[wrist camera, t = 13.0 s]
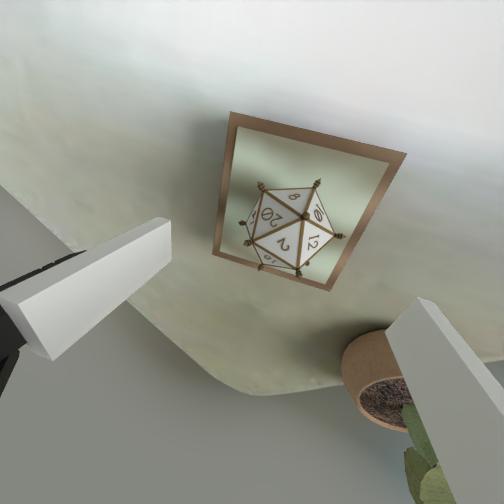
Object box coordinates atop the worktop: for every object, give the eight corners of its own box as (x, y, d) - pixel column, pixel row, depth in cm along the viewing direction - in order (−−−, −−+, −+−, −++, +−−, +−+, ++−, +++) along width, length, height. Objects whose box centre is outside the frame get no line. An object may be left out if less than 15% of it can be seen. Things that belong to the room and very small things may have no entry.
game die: (276, 212, 25) (206, 232, 19) (317, 152, 18) (228, 155, 13) (319, 270, 22) (253, 311, 17) (385, 224, 16) (312, 268, 10)
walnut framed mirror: (244, 118, 22) (229, 111, 18) (385, 152, 21) (408, 153, 16) (225, 239, 30) (211, 255, 26) (325, 270, 29) (329, 292, 24)
